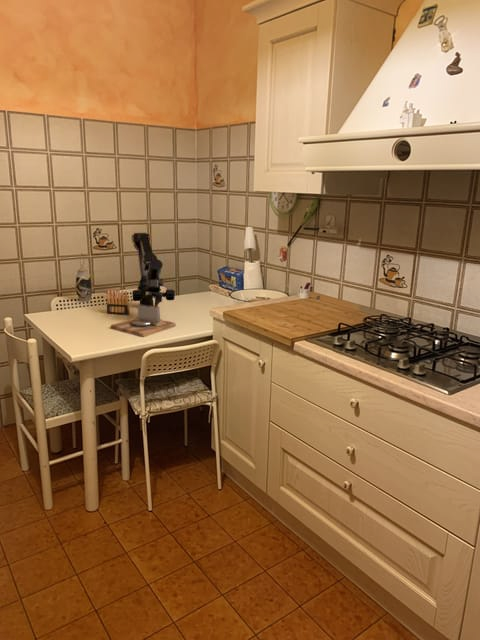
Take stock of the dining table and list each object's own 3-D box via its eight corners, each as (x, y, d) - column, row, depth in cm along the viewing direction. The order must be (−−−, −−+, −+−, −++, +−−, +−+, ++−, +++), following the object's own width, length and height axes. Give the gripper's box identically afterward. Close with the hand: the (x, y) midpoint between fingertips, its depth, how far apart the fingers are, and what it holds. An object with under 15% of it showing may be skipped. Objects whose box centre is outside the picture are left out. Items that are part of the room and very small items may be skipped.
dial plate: (110, 328, 216) (110, 324, 215) (143, 318, 232) (143, 315, 231) (143, 337, 205) (143, 333, 205) (175, 326, 221) (175, 322, 221)
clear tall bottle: (89, 302, 259) (86, 254, 252) (74, 301, 259) (70, 254, 252) (94, 298, 268) (91, 252, 261) (79, 297, 268) (75, 251, 261)
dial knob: (127, 324, 216) (126, 305, 213) (140, 318, 224) (140, 301, 222) (151, 328, 210) (151, 309, 208) (165, 322, 219) (164, 304, 217)
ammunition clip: (129, 314, 239) (128, 290, 235) (128, 315, 237) (127, 290, 233) (108, 313, 240) (107, 288, 236) (106, 314, 238) (105, 289, 235)
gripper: (131, 272, 218) (132, 302, 211) (174, 271, 221) (175, 302, 214) (132, 285, 227) (133, 315, 220) (173, 285, 231) (175, 314, 224)
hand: (154, 311), depth 219 cm, fingers closed
